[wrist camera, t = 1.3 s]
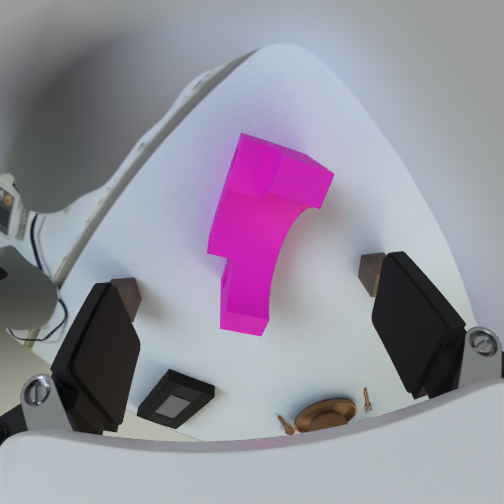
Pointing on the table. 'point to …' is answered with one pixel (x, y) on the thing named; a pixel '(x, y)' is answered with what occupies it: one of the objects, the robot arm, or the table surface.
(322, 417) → the place setting
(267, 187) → the toy block
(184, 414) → the vhs tape
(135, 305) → the brown cubes
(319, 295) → the table surface
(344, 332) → the table surface
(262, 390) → the table surface
